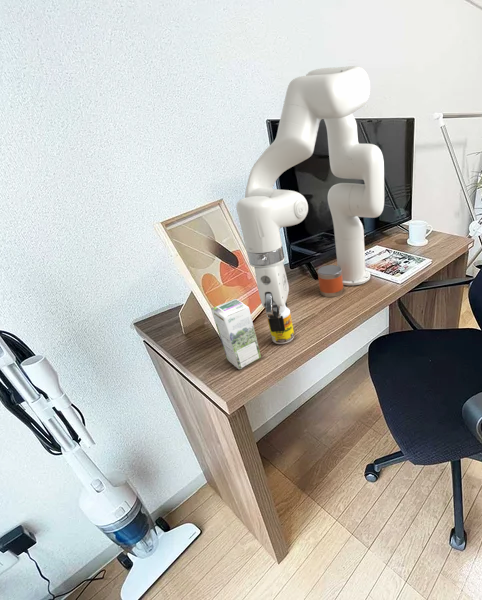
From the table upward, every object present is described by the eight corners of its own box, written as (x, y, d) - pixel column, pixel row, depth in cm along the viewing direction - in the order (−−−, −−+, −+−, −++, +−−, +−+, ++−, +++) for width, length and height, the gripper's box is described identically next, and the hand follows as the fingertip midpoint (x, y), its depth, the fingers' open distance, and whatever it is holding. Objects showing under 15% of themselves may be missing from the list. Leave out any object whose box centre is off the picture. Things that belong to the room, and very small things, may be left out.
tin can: (320, 287, 108) (317, 265, 104) (343, 285, 109) (341, 264, 105) (319, 298, 102) (316, 275, 98) (343, 296, 102) (341, 273, 98)
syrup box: (249, 348, 80) (234, 297, 73) (262, 358, 77) (248, 305, 69) (227, 360, 76) (209, 307, 69) (239, 371, 73) (222, 316, 66)
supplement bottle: (276, 348, 80) (268, 312, 75) (269, 337, 84) (261, 302, 79) (298, 340, 82) (291, 305, 77) (290, 330, 87) (284, 296, 82)
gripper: (277, 269, 65) (291, 342, 74) (288, 241, 80) (299, 304, 89) (238, 272, 64) (257, 345, 73) (256, 243, 79) (271, 306, 88)
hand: (280, 322), depth 81 cm, fingers open, 6 cm apart
